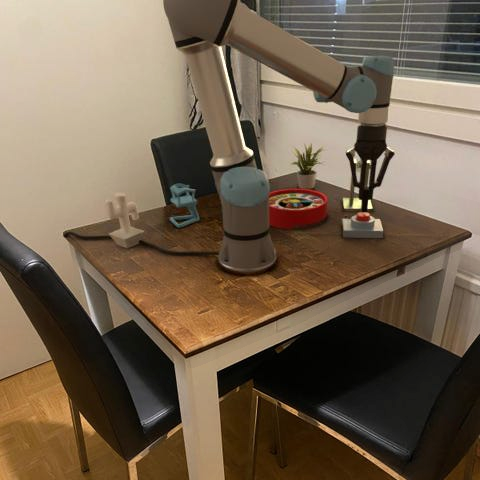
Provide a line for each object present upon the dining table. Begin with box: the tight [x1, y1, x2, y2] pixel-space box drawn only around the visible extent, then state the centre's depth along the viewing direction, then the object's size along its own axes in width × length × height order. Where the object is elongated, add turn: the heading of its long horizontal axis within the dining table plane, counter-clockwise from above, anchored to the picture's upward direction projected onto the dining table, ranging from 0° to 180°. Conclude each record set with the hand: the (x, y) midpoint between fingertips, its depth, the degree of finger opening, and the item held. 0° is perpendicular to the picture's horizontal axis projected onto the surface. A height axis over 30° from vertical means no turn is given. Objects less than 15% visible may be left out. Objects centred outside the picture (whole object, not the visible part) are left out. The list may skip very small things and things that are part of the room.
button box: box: [341, 214, 384, 239], centre depth 143 cm, size 11×9×4 cm
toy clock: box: [269, 188, 328, 230], centre depth 154 cm, size 20×6×20 cm
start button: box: [356, 211, 371, 221], centre depth 141 cm, size 4×4×2 cm
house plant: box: [291, 143, 327, 190], centre depth 172 cm, size 14×14×16 cm
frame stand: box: [342, 158, 373, 210], centre depth 157 cm, size 10×9×15 cm
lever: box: [356, 157, 361, 173], centre depth 149 cm, size 13×6×2 cm
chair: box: [169, 182, 200, 229], centre depth 153 cm, size 8×8×12 cm
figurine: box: [105, 191, 145, 249], centre depth 139 cm, size 7×9×15 cm
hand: (364, 210), depth 140 cm, fingers closed
